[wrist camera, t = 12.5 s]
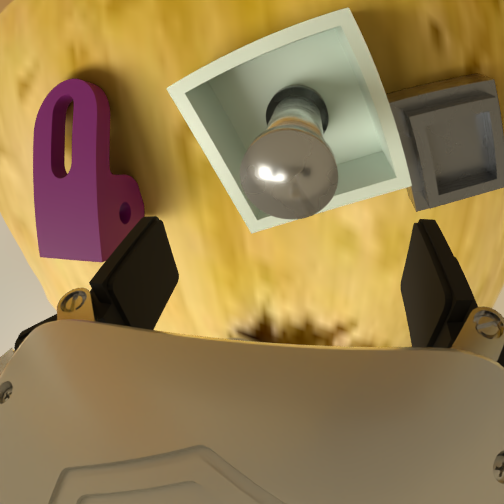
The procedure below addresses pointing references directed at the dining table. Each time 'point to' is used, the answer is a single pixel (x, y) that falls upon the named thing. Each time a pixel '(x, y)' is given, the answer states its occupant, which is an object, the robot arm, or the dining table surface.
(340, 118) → the bin
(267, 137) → the grey rounded piece
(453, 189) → the socket block
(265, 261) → the dining table surface
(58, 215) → the mounting bracket
